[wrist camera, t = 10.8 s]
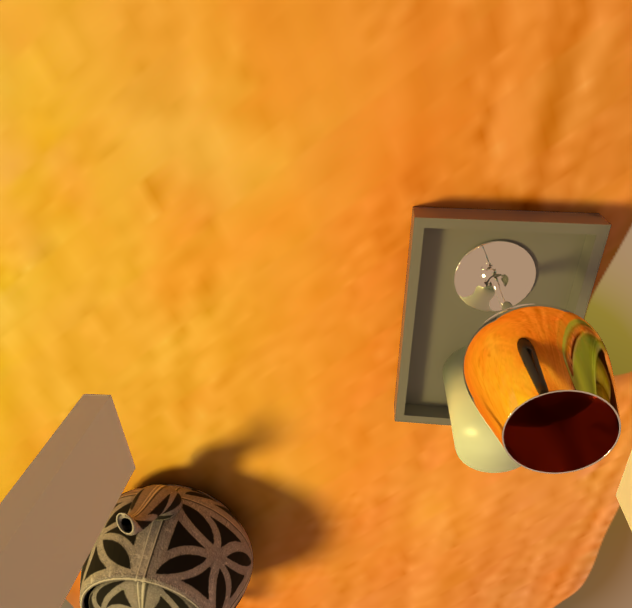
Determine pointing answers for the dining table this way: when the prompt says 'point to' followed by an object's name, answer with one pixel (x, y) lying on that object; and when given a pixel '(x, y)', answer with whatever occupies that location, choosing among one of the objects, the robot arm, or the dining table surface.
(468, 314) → the tray
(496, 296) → the wineglass
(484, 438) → the cream rounded cylinder
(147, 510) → the teapot
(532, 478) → the dining table surface
